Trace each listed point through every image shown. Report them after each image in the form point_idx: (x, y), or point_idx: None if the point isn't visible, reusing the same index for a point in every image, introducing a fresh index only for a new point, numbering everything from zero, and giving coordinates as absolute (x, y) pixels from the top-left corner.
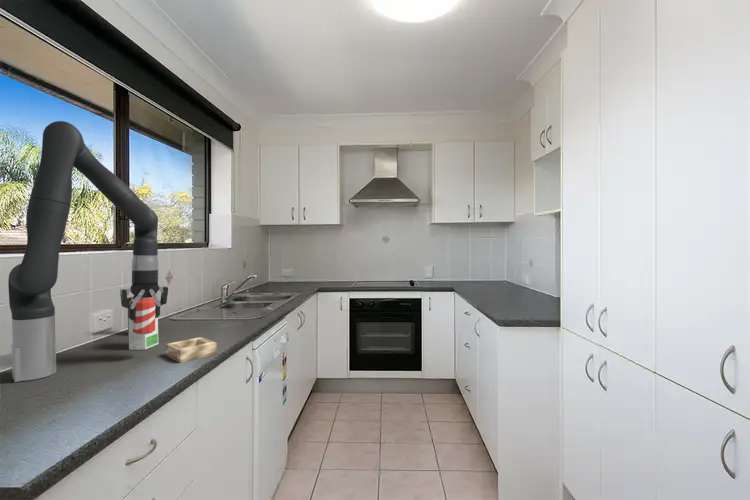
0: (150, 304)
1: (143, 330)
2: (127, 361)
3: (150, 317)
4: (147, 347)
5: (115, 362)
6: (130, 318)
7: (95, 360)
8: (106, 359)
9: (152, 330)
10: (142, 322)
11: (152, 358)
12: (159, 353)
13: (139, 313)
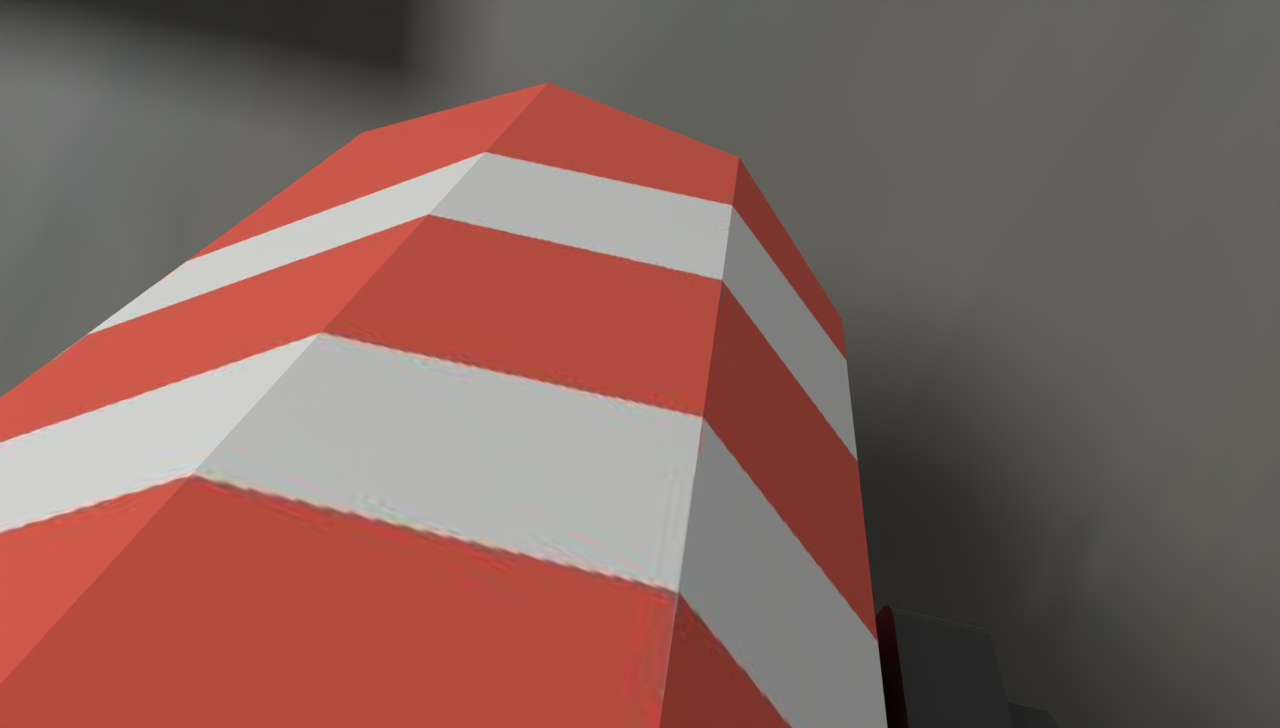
0: None
1: (701, 161)
2: (884, 243)
3: (343, 256)
4: None
5: (1007, 366)
6: (1048, 720)
7: (1068, 716)
8: None
9: (416, 121)
10: (719, 271)
11: (555, 12)
12: None
13: (789, 625)
